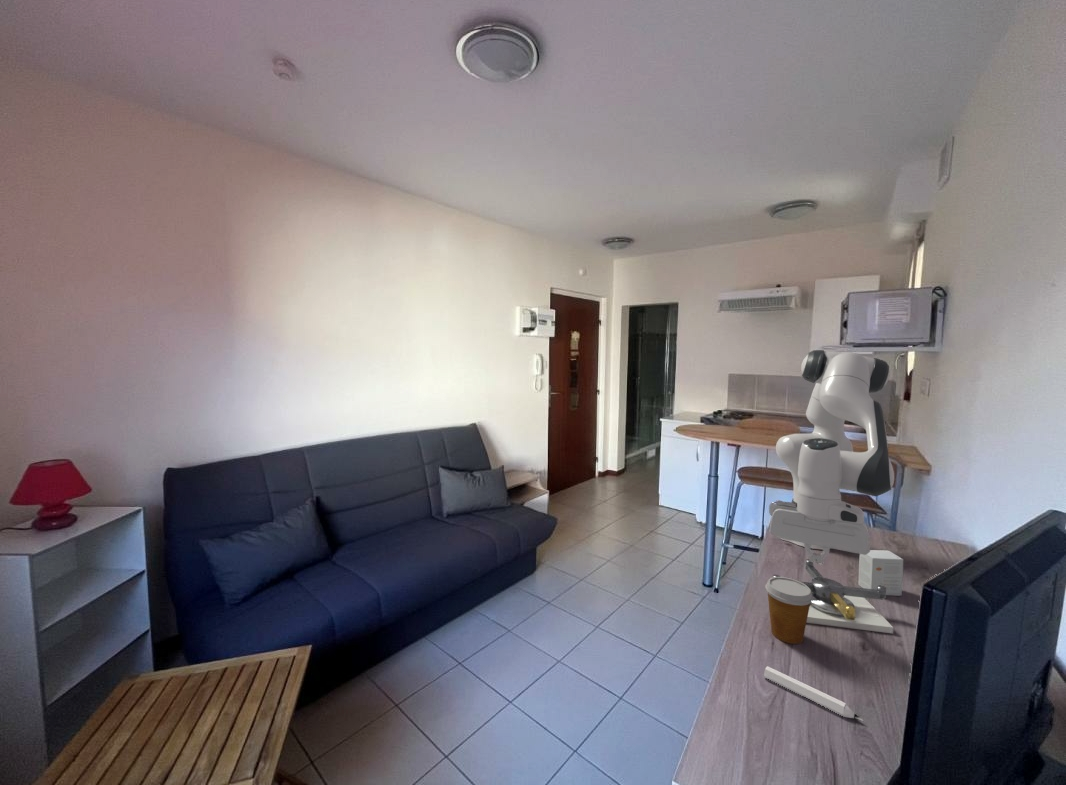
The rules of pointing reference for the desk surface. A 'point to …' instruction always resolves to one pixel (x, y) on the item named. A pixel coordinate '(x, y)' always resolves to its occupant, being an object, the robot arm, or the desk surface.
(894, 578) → the small box
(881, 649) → the desk surface
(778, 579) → the disposable coffee cup
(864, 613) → the stand
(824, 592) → the capstan
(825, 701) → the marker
